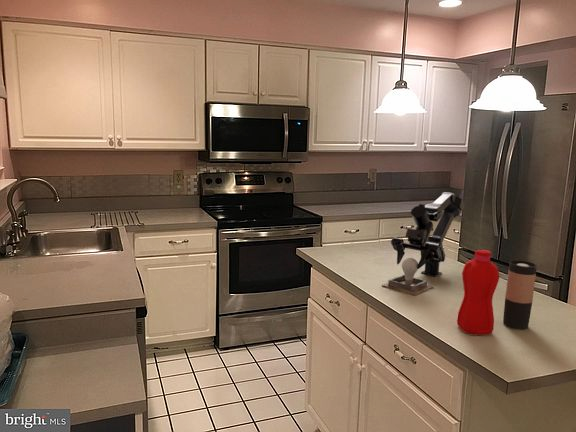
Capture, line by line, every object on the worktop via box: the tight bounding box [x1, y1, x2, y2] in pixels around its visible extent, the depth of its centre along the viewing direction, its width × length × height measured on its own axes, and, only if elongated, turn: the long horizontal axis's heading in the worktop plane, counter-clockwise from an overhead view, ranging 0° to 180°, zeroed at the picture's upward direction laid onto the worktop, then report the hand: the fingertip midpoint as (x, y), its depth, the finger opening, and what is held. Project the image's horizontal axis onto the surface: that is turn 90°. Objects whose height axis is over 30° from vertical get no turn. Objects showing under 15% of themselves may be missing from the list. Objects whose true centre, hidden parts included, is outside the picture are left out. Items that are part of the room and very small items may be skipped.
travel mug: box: [502, 259, 538, 331], centre depth 148 cm, size 8×8×20 cm
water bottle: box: [456, 249, 500, 336], centre depth 144 cm, size 9×11×25 cm
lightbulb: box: [401, 257, 419, 285], centre depth 182 cm, size 6×6×11 cm
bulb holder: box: [381, 274, 434, 297], centre depth 183 cm, size 14×14×2 cm
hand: (407, 266), depth 181 cm, fingers open, 8 cm apart
